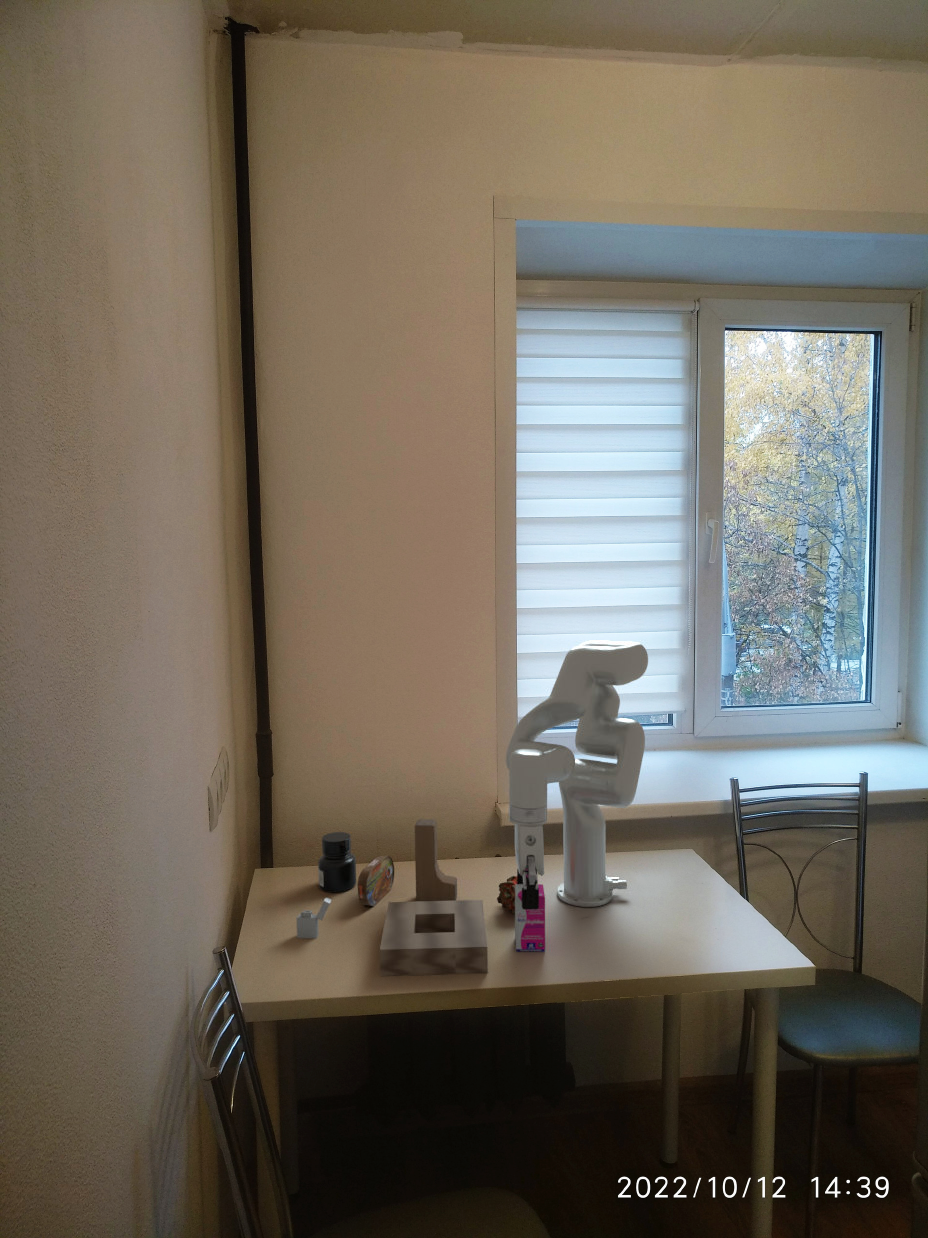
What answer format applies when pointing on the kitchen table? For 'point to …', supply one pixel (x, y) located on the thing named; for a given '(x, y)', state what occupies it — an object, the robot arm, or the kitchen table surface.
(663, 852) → the kitchen table surface
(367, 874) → the tin
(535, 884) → the robot arm
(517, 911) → the supplement box
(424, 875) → the wooden block
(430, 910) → the socket block
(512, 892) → the dragon fruit
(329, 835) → the ink bottle
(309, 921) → the lighter
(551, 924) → the kitchen table surface
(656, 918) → the kitchen table surface
